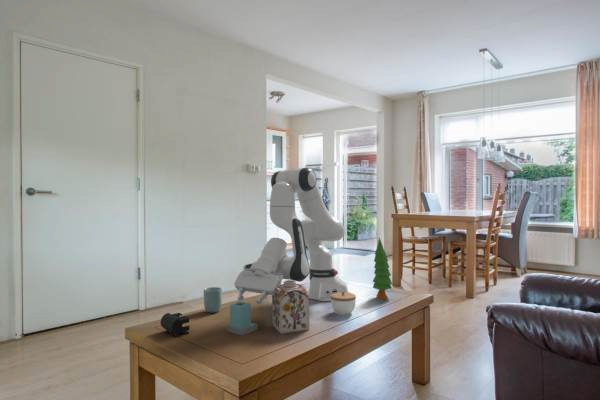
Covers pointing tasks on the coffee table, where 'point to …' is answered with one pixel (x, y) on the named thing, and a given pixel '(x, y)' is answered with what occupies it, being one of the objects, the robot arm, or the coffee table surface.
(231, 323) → the collar
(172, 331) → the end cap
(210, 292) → the cup
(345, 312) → the lidded jar
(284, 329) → the decorative jar
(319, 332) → the coffee table surface
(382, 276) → the decorative tree
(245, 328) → the shaft block
